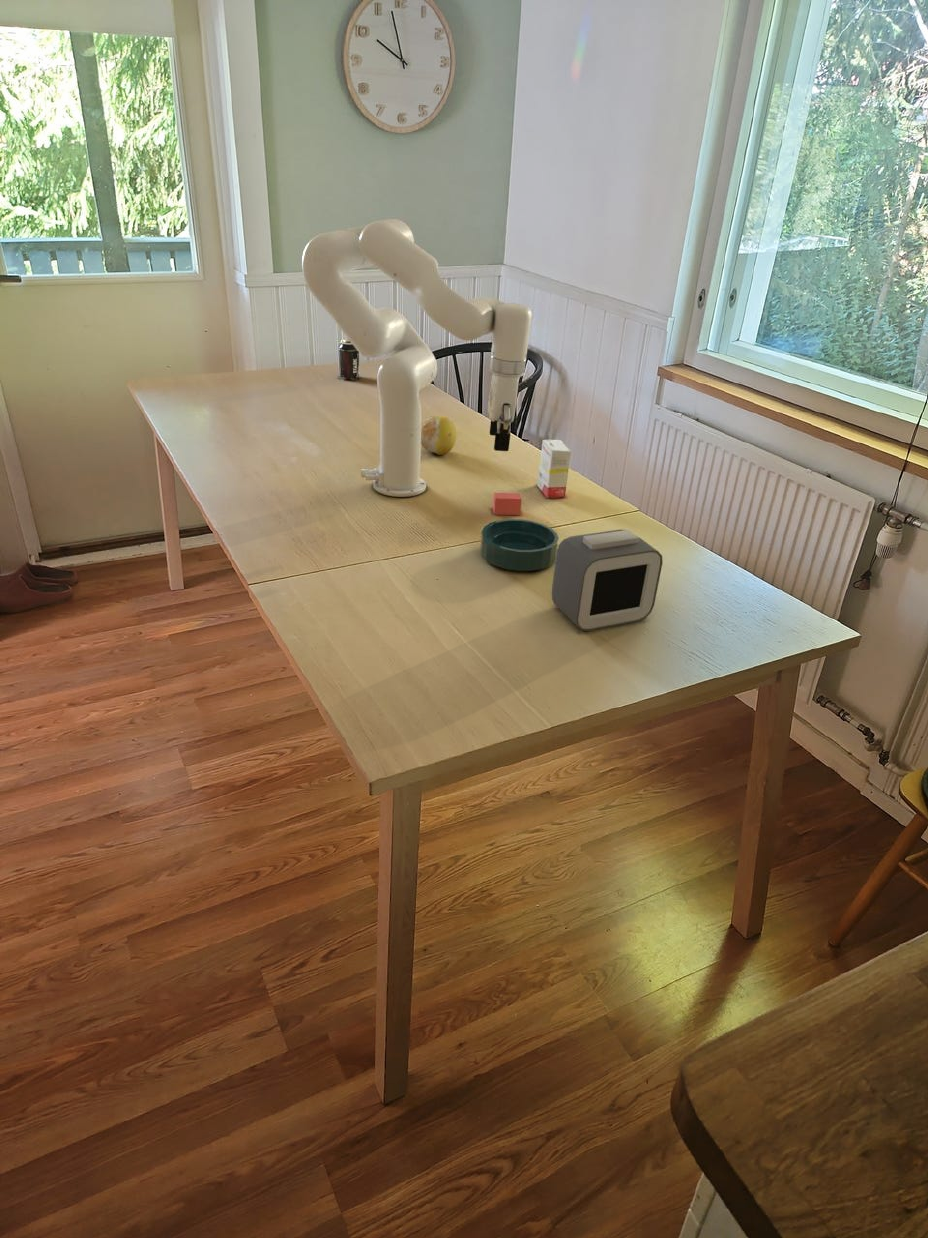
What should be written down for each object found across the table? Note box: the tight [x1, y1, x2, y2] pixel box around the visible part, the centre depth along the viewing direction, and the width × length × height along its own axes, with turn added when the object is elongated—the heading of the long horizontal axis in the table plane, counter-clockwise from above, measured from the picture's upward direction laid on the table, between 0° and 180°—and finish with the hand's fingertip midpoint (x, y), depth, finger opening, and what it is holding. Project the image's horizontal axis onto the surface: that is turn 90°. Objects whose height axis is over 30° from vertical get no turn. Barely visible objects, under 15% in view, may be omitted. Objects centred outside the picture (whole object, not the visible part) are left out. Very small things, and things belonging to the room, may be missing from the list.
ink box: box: [536, 439, 572, 499], centre depth 202 cm, size 9×5×12 cm, turn 12°
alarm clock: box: [550, 529, 663, 632], centre depth 152 cm, size 16×11×16 cm
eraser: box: [492, 492, 523, 516], centre depth 192 cm, size 6×3×4 cm, turn 94°
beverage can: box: [337, 339, 360, 381], centre depth 279 cm, size 7×7×12 cm
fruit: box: [421, 415, 458, 455], centre depth 221 cm, size 10×11×10 cm
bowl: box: [479, 518, 560, 572], centre depth 172 cm, size 16×16×5 cm
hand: (498, 442), depth 187 cm, fingers open, 9 cm apart
